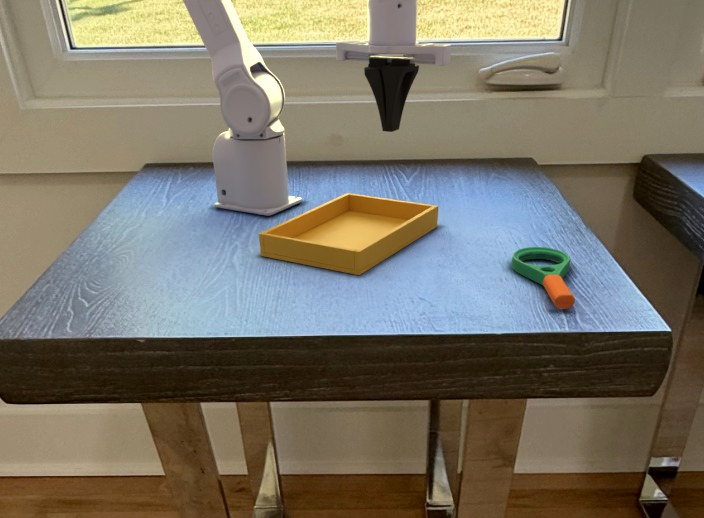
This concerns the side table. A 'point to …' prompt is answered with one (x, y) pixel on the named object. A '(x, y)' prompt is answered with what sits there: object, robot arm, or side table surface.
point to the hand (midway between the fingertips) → (390, 130)
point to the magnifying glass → (546, 272)
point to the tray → (349, 232)
